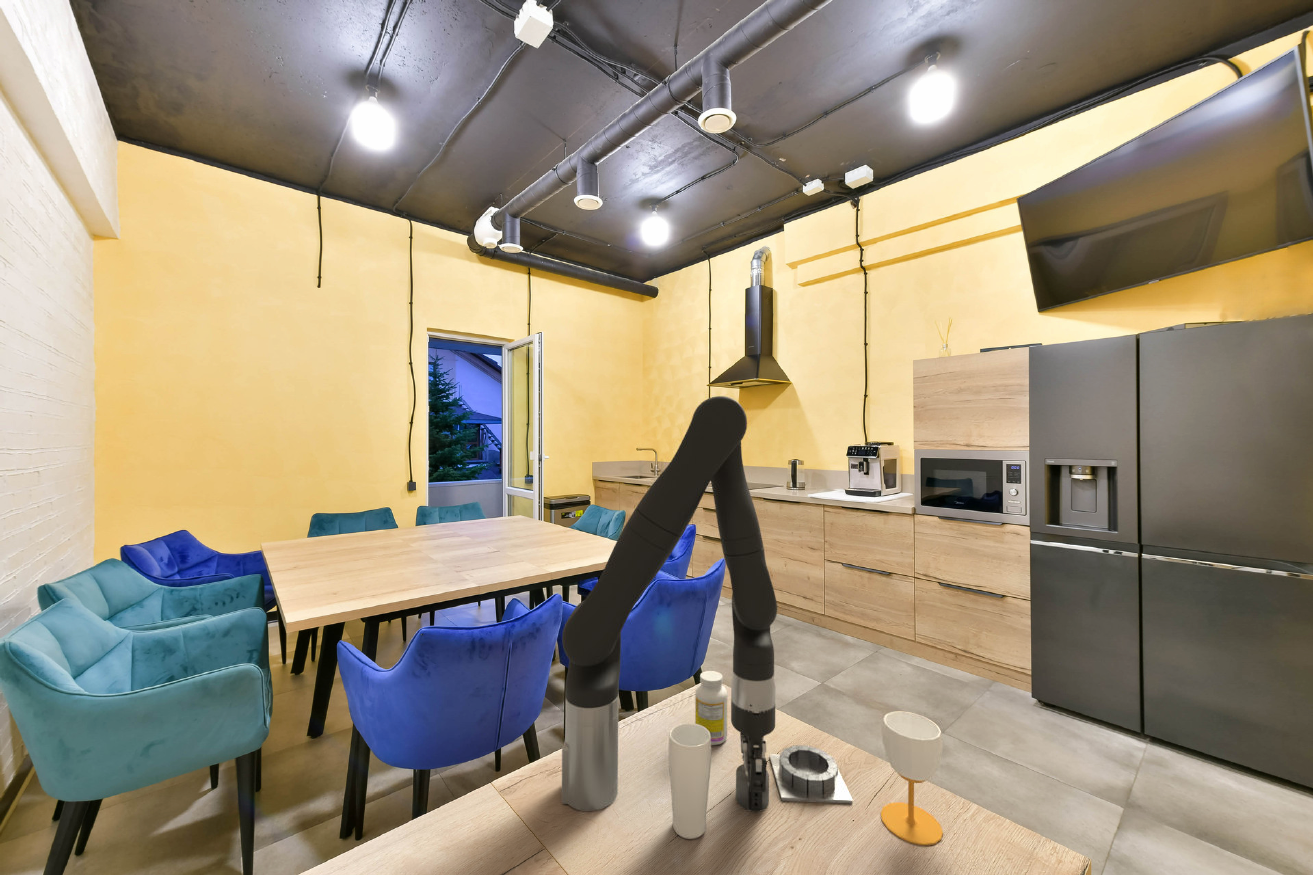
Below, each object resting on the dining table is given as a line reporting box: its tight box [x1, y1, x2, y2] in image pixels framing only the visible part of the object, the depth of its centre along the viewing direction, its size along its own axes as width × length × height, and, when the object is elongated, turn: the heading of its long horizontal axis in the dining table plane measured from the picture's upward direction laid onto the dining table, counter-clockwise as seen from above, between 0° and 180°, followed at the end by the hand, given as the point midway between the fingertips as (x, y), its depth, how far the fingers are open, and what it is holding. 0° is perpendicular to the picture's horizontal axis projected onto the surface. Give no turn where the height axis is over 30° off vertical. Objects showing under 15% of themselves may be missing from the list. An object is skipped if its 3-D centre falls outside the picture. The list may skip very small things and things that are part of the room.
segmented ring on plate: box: [768, 744, 853, 805], centre depth 93 cm, size 12×12×3 cm
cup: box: [879, 710, 944, 846], centre depth 82 cm, size 9×9×16 cm
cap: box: [735, 763, 770, 813], centre depth 88 cm, size 6×6×5 cm
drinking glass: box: [668, 722, 712, 840], centre depth 81 cm, size 7×7×15 cm
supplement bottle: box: [694, 670, 728, 746], centre depth 106 cm, size 7×7×13 cm
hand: (752, 795), depth 88 cm, fingers closed on cap, 5 cm apart
